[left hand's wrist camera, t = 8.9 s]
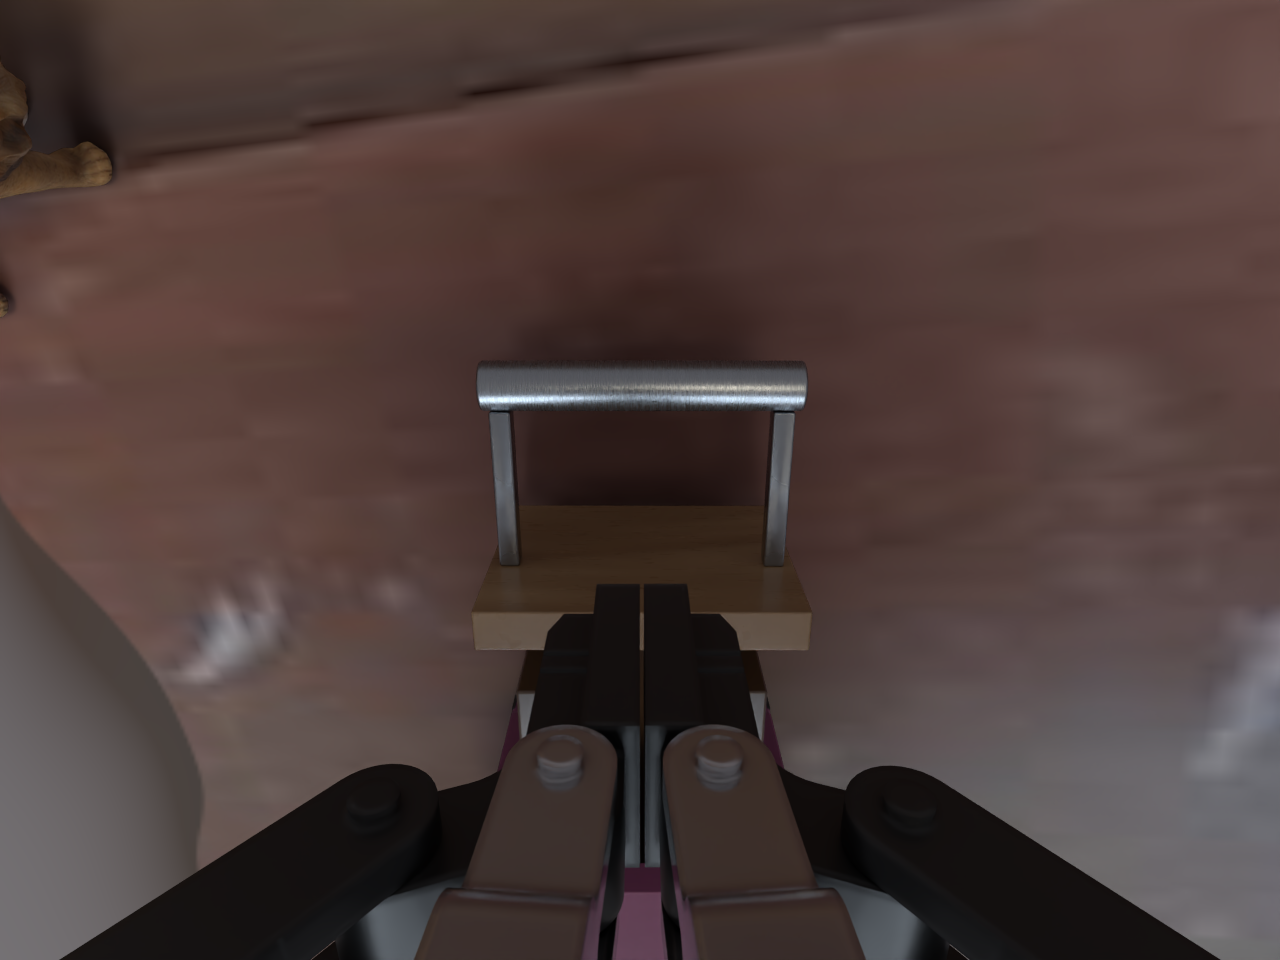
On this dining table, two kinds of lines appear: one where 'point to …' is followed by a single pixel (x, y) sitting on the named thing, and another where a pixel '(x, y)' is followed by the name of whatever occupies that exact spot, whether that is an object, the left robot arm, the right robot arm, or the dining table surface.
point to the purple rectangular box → (640, 875)
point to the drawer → (641, 519)
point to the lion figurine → (39, 155)
